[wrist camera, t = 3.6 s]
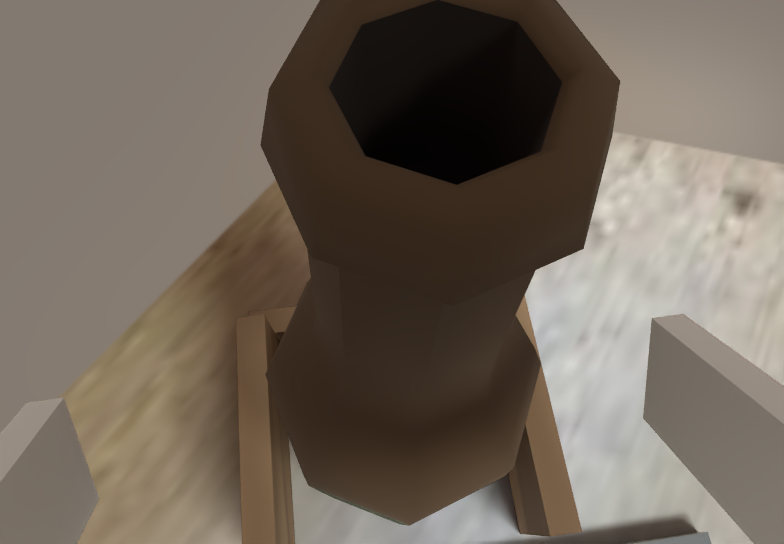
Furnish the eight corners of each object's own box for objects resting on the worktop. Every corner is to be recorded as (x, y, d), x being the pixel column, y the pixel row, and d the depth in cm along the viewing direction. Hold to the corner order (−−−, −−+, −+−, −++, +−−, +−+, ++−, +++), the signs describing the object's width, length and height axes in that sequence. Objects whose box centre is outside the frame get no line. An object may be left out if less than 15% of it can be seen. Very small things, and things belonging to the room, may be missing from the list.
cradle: (495, 298, 30) (515, 258, 26) (546, 529, 26) (581, 531, 21) (258, 327, 29) (235, 291, 25) (268, 571, 25) (242, 583, 20)
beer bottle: (467, 352, 29) (741, -186, 7) (484, 519, 26) (1075, 508, 4) (313, 358, 29) (88, -181, 7) (311, 528, 26) (-122, 568, 4)
